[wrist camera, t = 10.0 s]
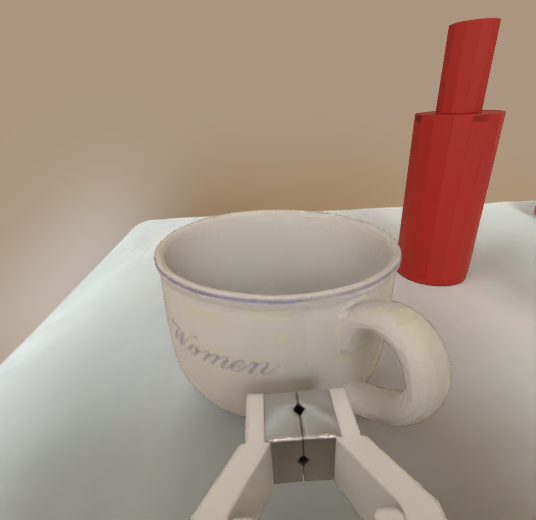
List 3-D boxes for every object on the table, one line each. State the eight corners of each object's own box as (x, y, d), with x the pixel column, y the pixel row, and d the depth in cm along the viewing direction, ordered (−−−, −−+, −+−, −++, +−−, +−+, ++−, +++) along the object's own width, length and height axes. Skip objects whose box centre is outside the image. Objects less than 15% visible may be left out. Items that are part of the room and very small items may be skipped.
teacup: (174, 335, 22) (148, 217, 18) (322, 297, 25) (325, 191, 21) (221, 611, 10) (174, 428, 6) (495, 474, 13) (564, 299, 9)
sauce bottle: (444, 254, 30) (489, 28, 23) (480, 283, 25) (552, 10, 18) (386, 258, 30) (412, 32, 23) (411, 288, 25) (454, 15, 18)
